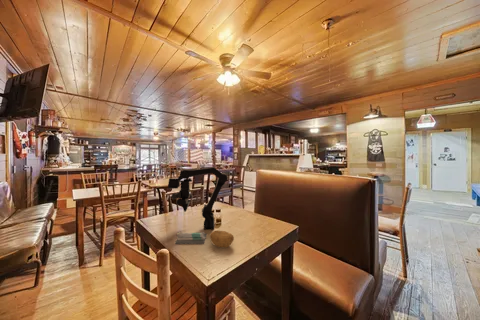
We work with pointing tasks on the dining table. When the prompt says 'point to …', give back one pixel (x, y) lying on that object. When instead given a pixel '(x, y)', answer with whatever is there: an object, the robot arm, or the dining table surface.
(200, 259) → the dining table surface
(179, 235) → the tong arm
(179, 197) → the robot arm
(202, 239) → the slate board
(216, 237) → the potato
